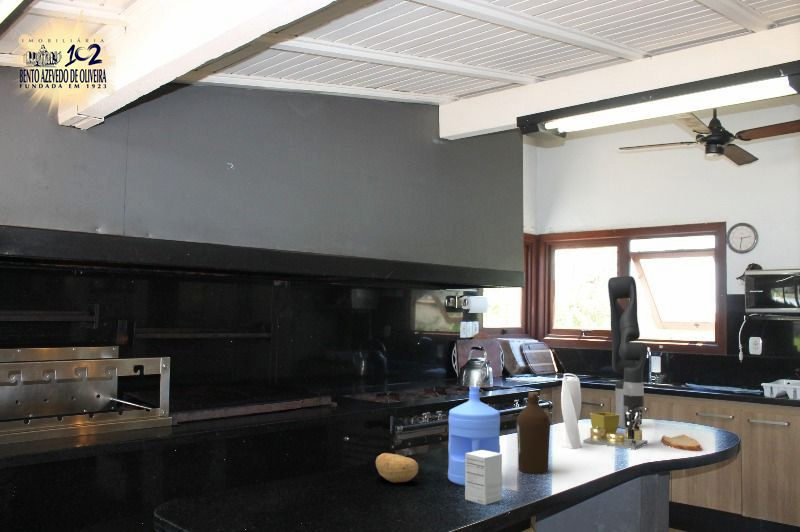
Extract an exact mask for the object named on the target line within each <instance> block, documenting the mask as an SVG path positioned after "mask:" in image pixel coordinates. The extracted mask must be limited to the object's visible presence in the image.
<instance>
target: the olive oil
mask: <svg viewBox="0 0 800 532" xmlns="http://www.w3.org/2000/svg"><path fill="white" fill-rule="evenodd" d="M539 399H540V396H539V392H537V391H536V392H535V391H530V392H528V397H527V400H528V403H527V405H525V407H524V408H523V409H522V410H521V411H520V412H519V414H518V417H517V419H516V432H517V433H516V435H517V436H516V437H517V438H516V439H517V460H518V461H517V462H518V464H517V465H518V470H519V472H522V473H525V474H535V475H537V474H538V475H540V474H542V475H543V474H547V473H548V472H549V458H550V457H549V454H550V453H549V452H550V432H551V420H550V417H549V415H548V414H547V412H546V411H545V410H544V409H543V408H542V406H540V404H539V403H540V402H539V401H540V400H539Z"/></svg>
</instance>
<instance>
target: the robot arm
mask: <svg viewBox="0 0 800 532" xmlns="http://www.w3.org/2000/svg"><path fill="white" fill-rule="evenodd" d="M607 291H608V298H609V307H610V308H609V309H610V332H611V346H612V347H611V349H612V350H611V367H612V370H613V372H615V373H618V374H623V378H622V379H620V380H617V381H615V385H614V387H615V414H618V415H619V424H618V428H619V427H620V429H628V439H634V429H640V427H641V425H643V421H642V420H643V409H640V408H642V407H644V406H645V405H644V403H645V402H644V399H645V397H644V396H645V393H644V392H645V391H644V389H645V387H644V367H645V363H646V359H647V356H648V353H649V351H648V350H649V349H648V346H647V345H646V343H644V342H638V341H637V340H639V339H640V337H641V331H640V327H639V321H638V320H639V319H638V291H637V283H636V279H635V277H634V276H632V275H626V276H623V275H622V276H613V277H611V278H609V280H608V282H607ZM621 299H623V300H624V299H628V304H627V306H626V307H625V308H624V307H623V306H622V305H621V303H620V302H619V300H621ZM635 341H636V342H635Z"/></svg>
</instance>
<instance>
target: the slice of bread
mask: <svg viewBox="0 0 800 532" xmlns="http://www.w3.org/2000/svg"><path fill="white" fill-rule="evenodd" d="M660 442H661V444H662V443H663V444H662V445H664V446H666V445H667V446H666V447H669V446H670V448H672V447H673V449H677V450H681V451H689V452H702V451H703V449H702V446H701V444H700V442H699V441H697V440H696V439H694V438H692V437H690V436H688V435H686V434H685V433H684V434H681V435H677V436H673V437H670V436H667V435H663V436H662V437H661V439H660Z"/></svg>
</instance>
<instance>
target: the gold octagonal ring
mask: <svg viewBox="0 0 800 532" xmlns="http://www.w3.org/2000/svg"><path fill="white" fill-rule="evenodd" d="M625 438H626V439H628V429H627V428H625ZM628 440H643V430H642V429H640V428H639V429H634V439H628Z"/></svg>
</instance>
